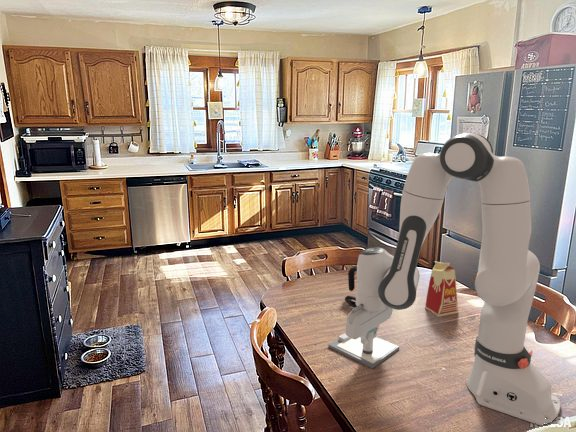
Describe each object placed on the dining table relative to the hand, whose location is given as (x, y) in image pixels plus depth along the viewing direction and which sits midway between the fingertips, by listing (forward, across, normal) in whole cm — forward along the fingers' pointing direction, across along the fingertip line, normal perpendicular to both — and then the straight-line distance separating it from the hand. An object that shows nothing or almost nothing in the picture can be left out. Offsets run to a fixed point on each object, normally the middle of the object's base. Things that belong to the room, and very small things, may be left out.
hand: (368, 340), depth 135 cm
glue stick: (+4, 0, 0) cm, 4 cm away
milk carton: (+5, +45, -2) cm, 46 cm away
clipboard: (+5, +2, +3) cm, 7 cm away
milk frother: (+6, +30, +23) cm, 38 cm away
